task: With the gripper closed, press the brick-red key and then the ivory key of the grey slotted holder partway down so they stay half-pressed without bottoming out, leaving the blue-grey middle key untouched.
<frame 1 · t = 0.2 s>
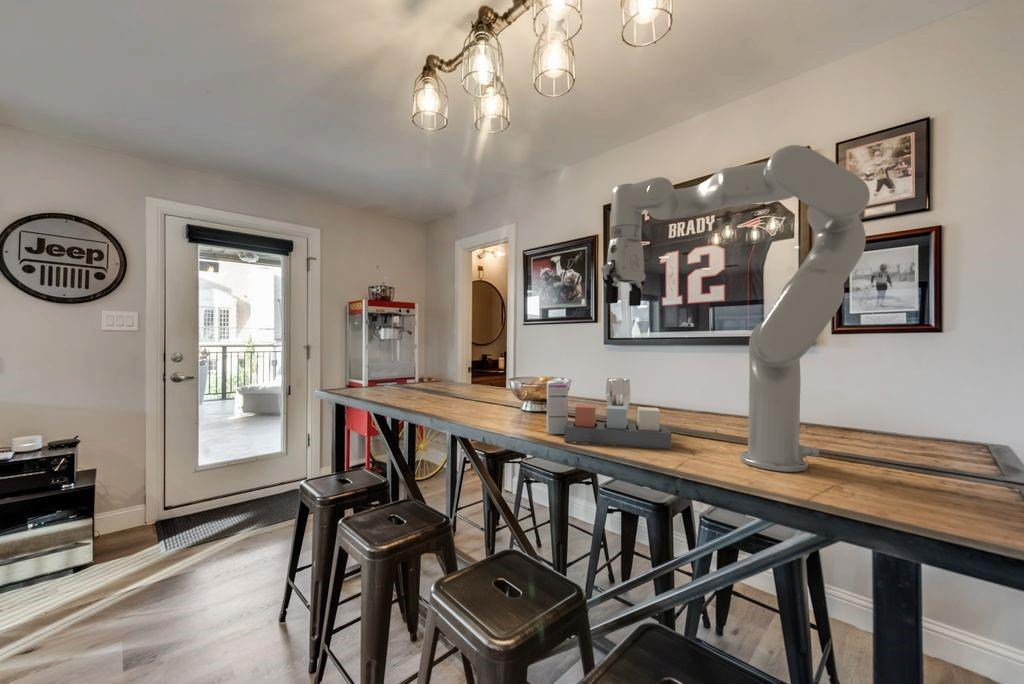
hand: (623, 304, 107), 36 cm above the table, tool pointing down, fingers open, 9 cm apart
beer glass: (617, 430, 126), on the table
key red: (585, 415, 113), point 7 cm above the table, slide at 0.0 cm
syrup box: (556, 433, 122), on the table
key ivory: (648, 418, 110), point 7 cm above the table, slide at 0.0 cm
key blue: (616, 417, 112), point 7 cm above the table, slide at 0.0 cm
grey slotted holder: (616, 441, 112), on the table
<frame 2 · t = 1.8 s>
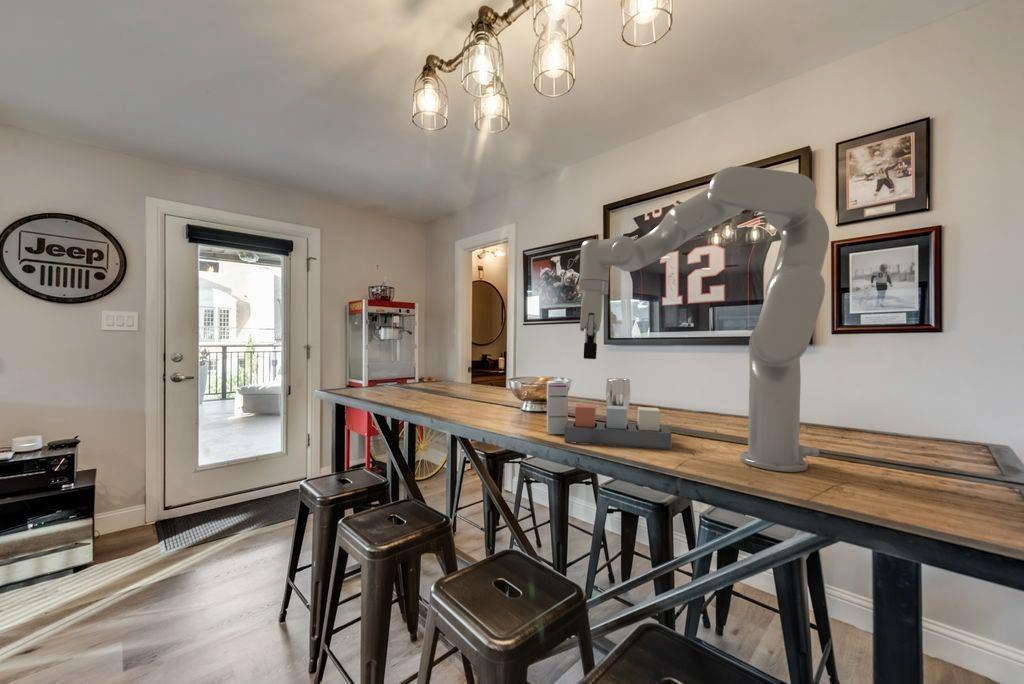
hand: (589, 358, 112), 22 cm above the table, tool pointing down, fingers closed
nothing on the table moved.
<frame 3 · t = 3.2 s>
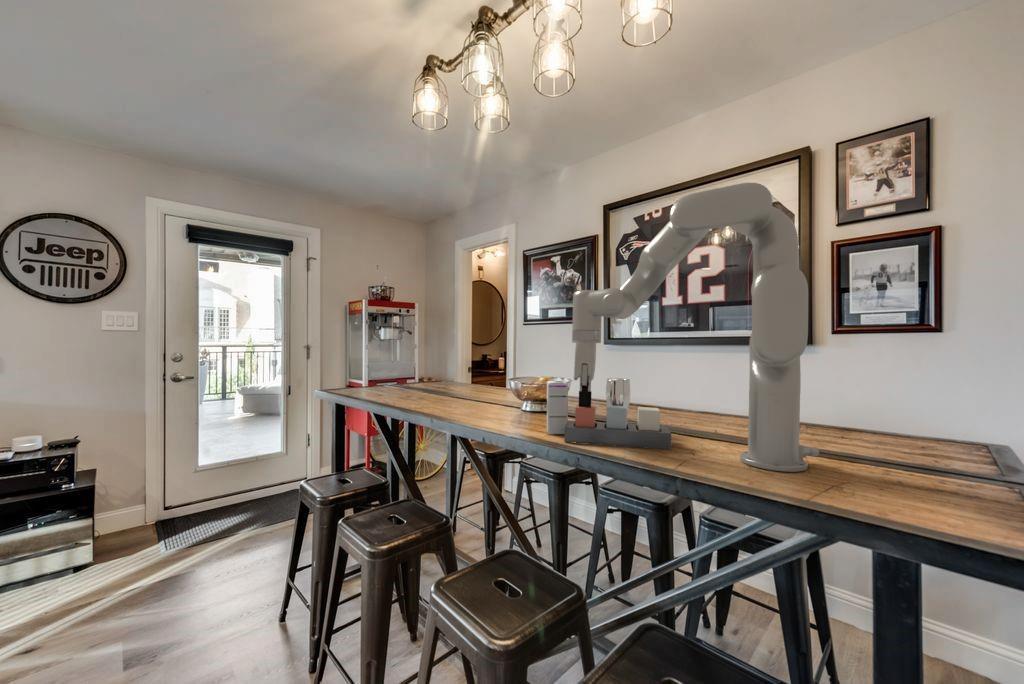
hand: (584, 406, 113), 9 cm above the table, tool pointing down, fingers closed
key red: (585, 415, 113), point 6 cm above the table, slide at 0.2 cm, touching gripper
everything else where it was.
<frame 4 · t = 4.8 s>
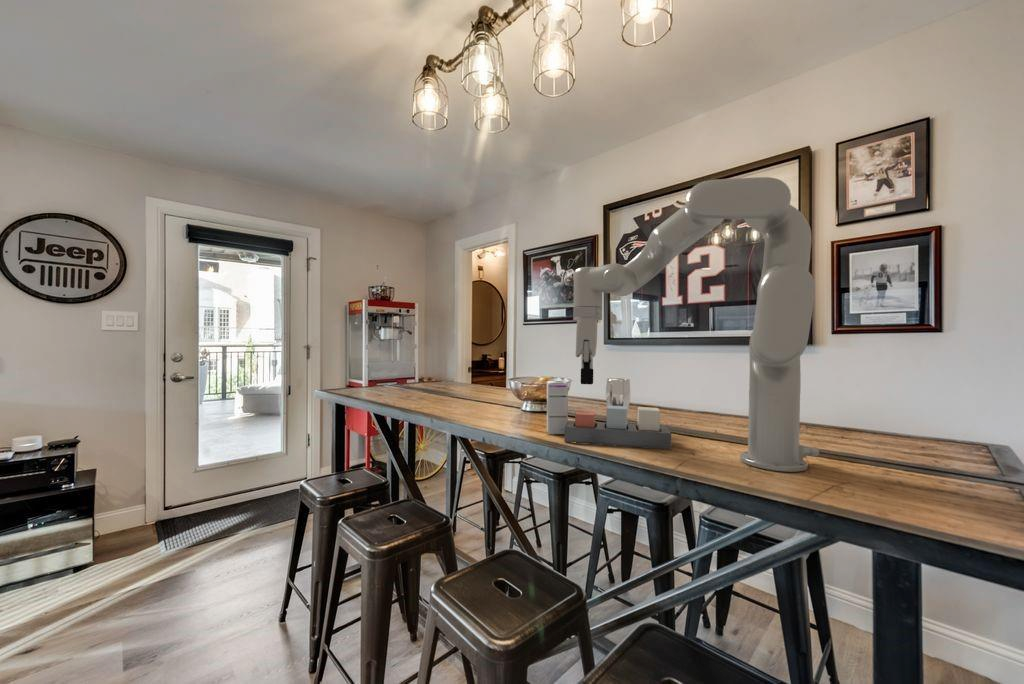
hand: (586, 383, 113), 15 cm above the table, tool pointing down, fingers closed
key red: (585, 422, 113), point 5 cm above the table, slide at 1.8 cm
everything else where it was.
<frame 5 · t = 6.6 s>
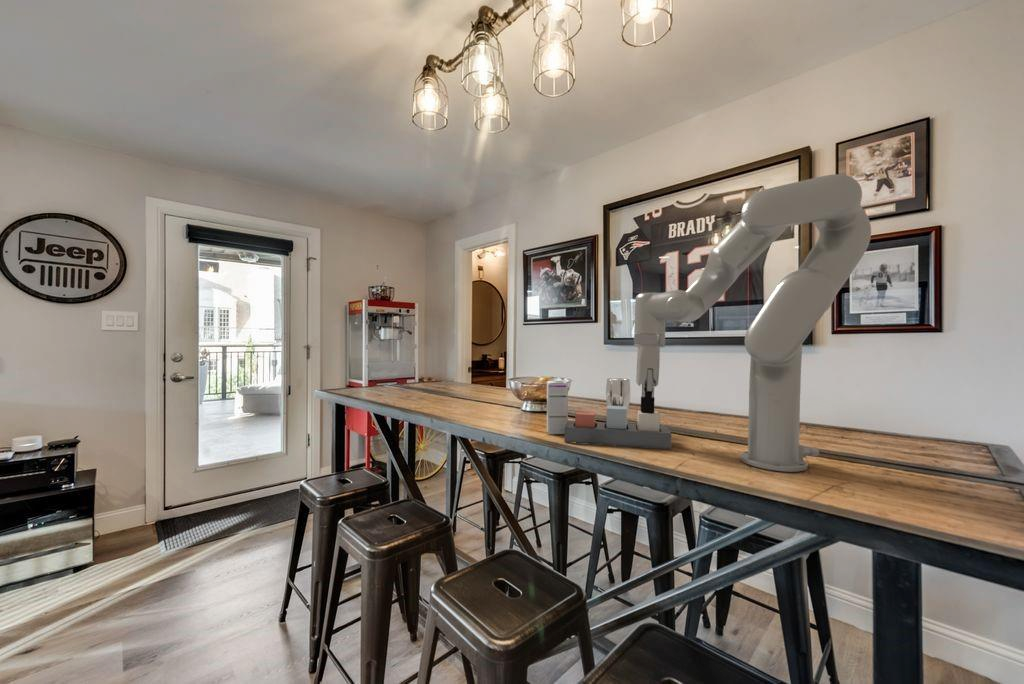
hand: (647, 412, 110), 8 cm above the table, tool pointing down, fingers closed
key ivory: (648, 422, 110), point 6 cm above the table, slide at 1.0 cm, touching gripper
everything else where it was.
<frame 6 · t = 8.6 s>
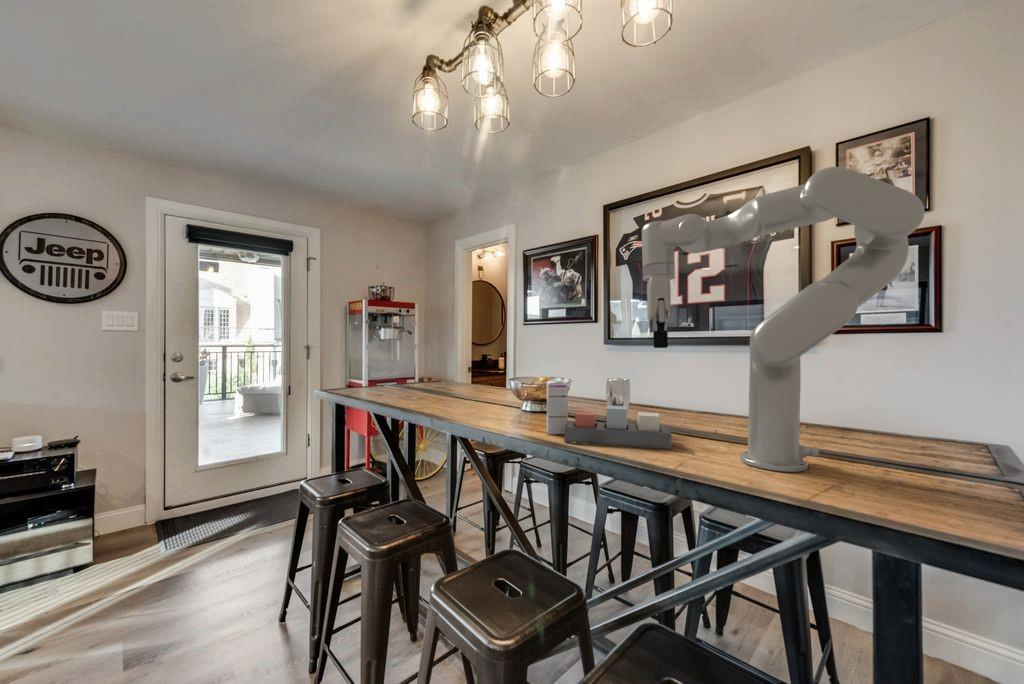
hand: (660, 347, 105), 25 cm above the table, tool pointing down, fingers closed
key ivory: (648, 424, 110), point 5 cm above the table, slide at 1.4 cm
everything else where it was.
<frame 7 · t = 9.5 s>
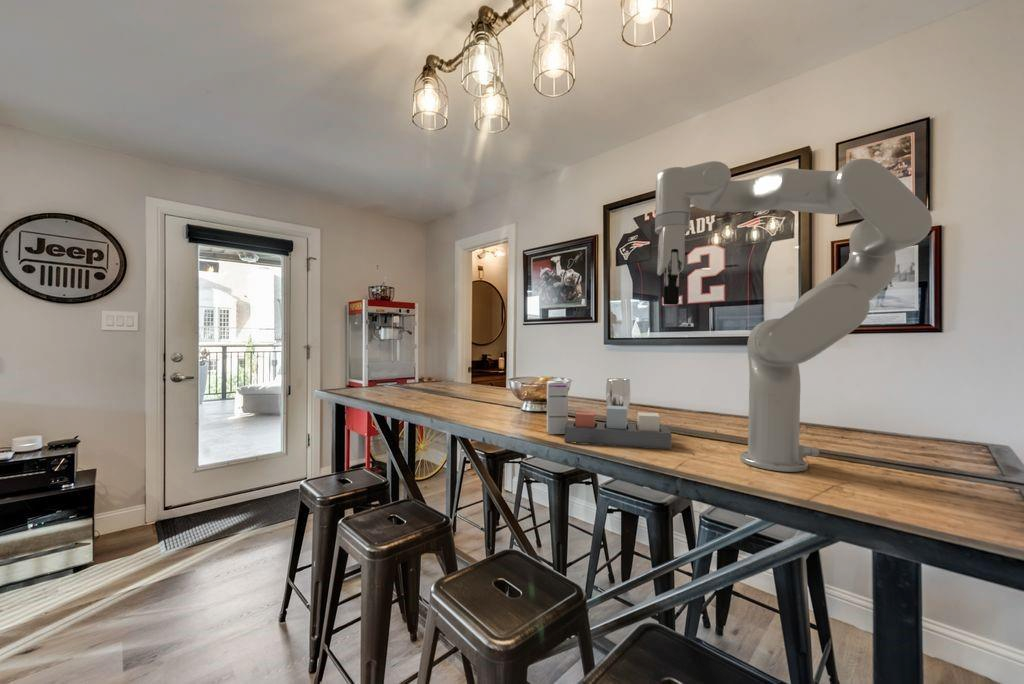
hand: (670, 304, 99), 35 cm above the table, tool pointing down, fingers closed
nothing on the table moved.
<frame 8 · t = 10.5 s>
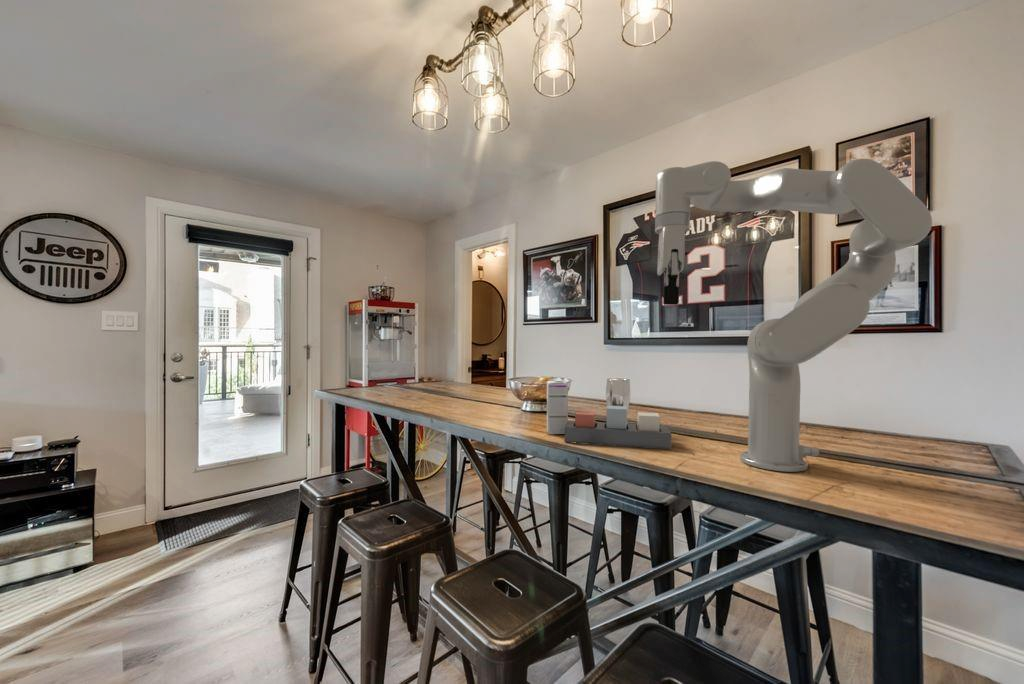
hand: (670, 304, 99), 35 cm above the table, tool pointing down, fingers closed
nothing on the table moved.
at the end: key red slide at 1.8 cm; key ivory slide at 1.4 cm; key blue slide at 0.0 cm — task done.
